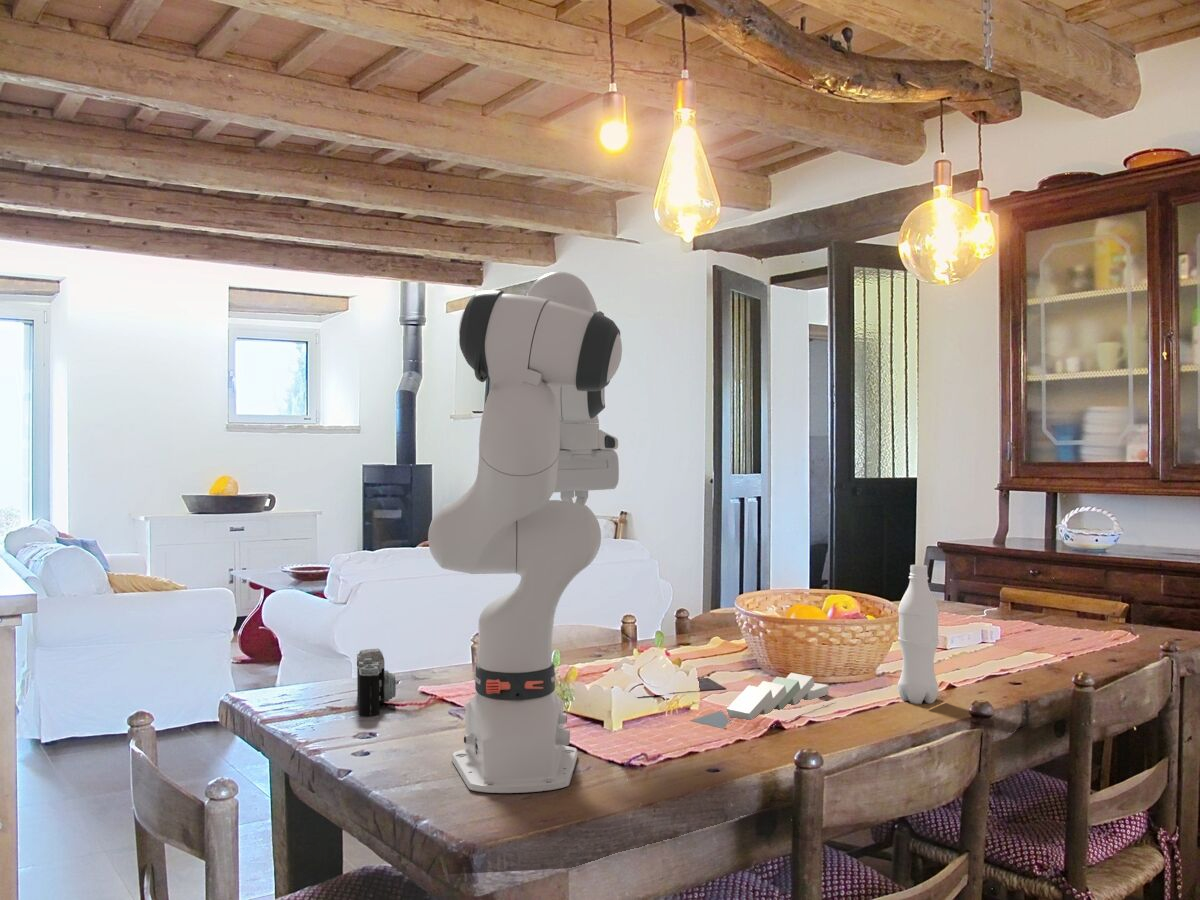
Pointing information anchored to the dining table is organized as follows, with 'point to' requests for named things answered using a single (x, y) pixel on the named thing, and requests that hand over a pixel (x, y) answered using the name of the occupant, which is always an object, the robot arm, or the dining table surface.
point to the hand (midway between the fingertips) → (574, 516)
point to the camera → (373, 682)
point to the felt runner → (714, 719)
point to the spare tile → (791, 689)
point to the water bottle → (918, 639)
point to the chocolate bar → (709, 685)
